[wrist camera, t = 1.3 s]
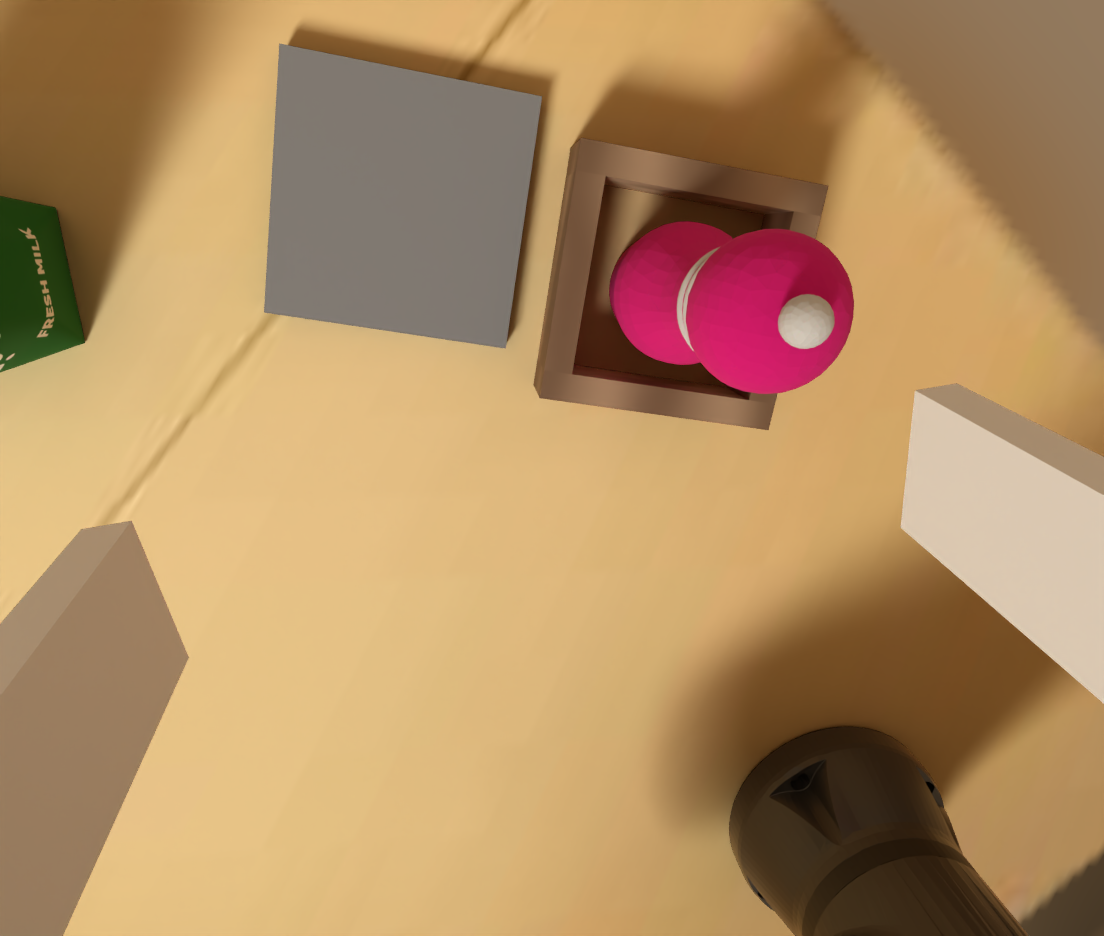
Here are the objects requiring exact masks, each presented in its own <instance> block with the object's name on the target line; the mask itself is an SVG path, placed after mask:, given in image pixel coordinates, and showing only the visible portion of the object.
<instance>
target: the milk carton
mask: <svg viewBox="0 0 1104 936" xmlns="http://www.w3.org/2000/svg"><path fill="white" fill-rule="evenodd" d="M83 343H85V340H84V335H83V330H82V326H81V321H80V316H79V312H78V307H77V303H76V298H75V293H74V289H73V284H72V279H71V275H70V270H69V266H68V261H67V256H66V252H65V247H64V242H63V238H62V233H61V229H60V224H59V219H58V215H57V210H56V208H55V207H50V206H45V205H40V204H35V203H31V202H26V201H21V200H17V199H12V198H7V197H3V196H0V372H3V371H5V370H8V369H11V368H14V367H17V366H20V365H23V364H26V363H29V362H32V361H34V360H37V359H40V358H43V357H46V356H49V355H51V354H54V353H57V352H60V351H63V350H66V349H68V348H71V347H74V346H77V345H80V344H83Z"/></svg>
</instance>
